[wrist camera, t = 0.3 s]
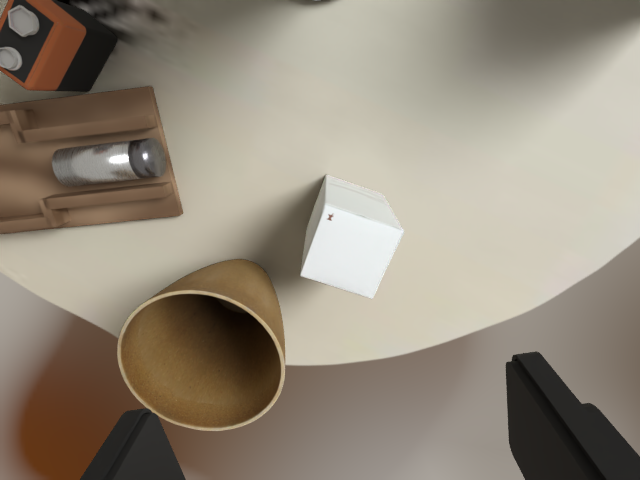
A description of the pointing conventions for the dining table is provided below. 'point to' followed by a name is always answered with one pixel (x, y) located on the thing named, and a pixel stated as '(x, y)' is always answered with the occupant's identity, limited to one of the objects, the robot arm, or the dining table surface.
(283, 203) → the dining table surface
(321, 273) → the supplement box
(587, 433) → the robot arm
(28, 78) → the battery
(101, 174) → the shaft
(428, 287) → the dining table surface
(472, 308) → the dining table surface
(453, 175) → the dining table surface
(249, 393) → the plant pot
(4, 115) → the tray
